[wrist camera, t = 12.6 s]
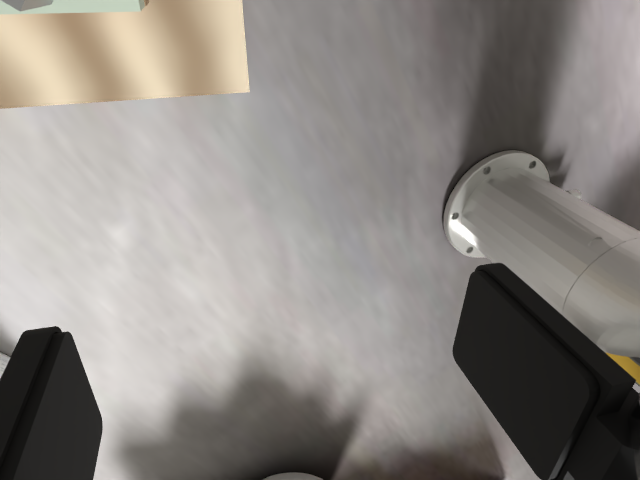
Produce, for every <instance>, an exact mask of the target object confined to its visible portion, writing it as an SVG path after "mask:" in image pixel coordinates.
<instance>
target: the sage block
mask: <svg viewBox="0 0 640 480" xmlns="http://www.w3.org/2000/svg"><path fill="white" fill-rule="evenodd" d="M144 7H145V4H144V0H53V2H52V4H51V5H47V6H42V7H38V8H34V9H29V10H25V11H21V12H20V11H18V10H16V9H15V8H13V7H11V6H10V5H8V4H6V3H5V2H3V1H1V0H0V14H47V13H94V12H141V11H142V9H143V8H144Z"/></svg>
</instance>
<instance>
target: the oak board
mask: <svg viewBox="0 0 640 480" xmlns="http://www.w3.org/2000/svg"><path fill="white" fill-rule="evenodd" d="M242 92H250V91H249V79H248V67H247V55H246V43H245V31H244V19H243V7H242V0H149V3H148V4H147V6H145V7H144V8H143V9H142V11H141V12H94V13H47V14H0V109H2V108H17V107H32V106H47V105H62V104H77V103H92V102H107V101H122V100H137V99H152V98H167V97H182V96H197V95H212V94H227V93H242Z"/></svg>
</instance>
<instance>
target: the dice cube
mask: <svg viewBox="0 0 640 480" xmlns="http://www.w3.org/2000/svg"><path fill="white" fill-rule="evenodd" d="M1 1H3V2H5V3H6V4H8V5H10V6H11V7H13V8H15V9H16V10H18V11H20V12H21V11H25V10H29V9H34V8H38V7H42V6H47V5H51V4H52V2H53V0H1Z"/></svg>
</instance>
